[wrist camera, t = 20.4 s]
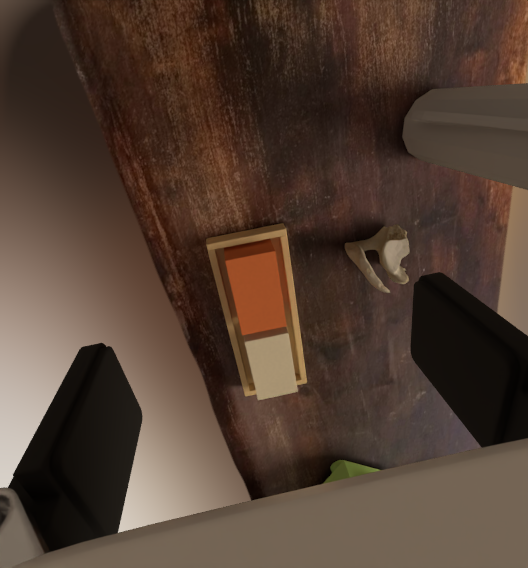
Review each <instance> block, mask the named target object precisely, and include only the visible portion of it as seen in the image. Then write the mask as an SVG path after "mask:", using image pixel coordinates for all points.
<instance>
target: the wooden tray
mask: <svg viewBox="0 0 528 568" xmlns="http://www.w3.org/2000/svg"><path fill="white" fill-rule="evenodd" d="M265 239H270V240H271V242H272V244H273V247H274V249H275V252H276V258H277V265H278V272H279V278H280V285H281V291H282V298H283V305H284V311H285V318H286V324H287V326H286V327H287V330H288V333H289V339H290V346H291V352H292V358H293V365H294V371H295V378H296V384H297V385H300V384H304V383H307V379H306V371H305V364H304V356H303V349H302V342H301V334H300V327H299V320H298V312H297V305H296V297H295V290H294V283H293V275H292V268H291V261H290V253H289V246H288V238H287V231H286V228H285V226H284V224H283V223H281V224H276V225H271V226H266V227H261V228H256V229H251V230H246V231H241V232H236V233H231V234H226V235H221V236H216V237H211V238H207V239H206V246H207V250H208V254H209V258H210V262H211V266H212V270H213V274H214V277H215V281H216V285H217V289H218V293H219V297H220V301H221V305H222V309H223V312H224V316H225V320H226V324H227V328H228V332H229V336H230V340H231V343H232V347H233V351H234V355H235V359H236V363H237V367H238V371H239V374H240V378H241V382H242V386H243V390H244V394H245V396H249V395H254V394H256V390H255V385H254V381H253V377H252V373H251V368H250V364H249V360H248V356H247V351H246V347H245V343H244V336H243V335H242V333H241V329H240V324H239V320H238V316H237V311H236V307H235V303H234V298H233V294H232V290H231V285H230V281H229V277H228V272H227V268H226V264H225V256H224V248H225V247H230V246H235V245H240V244H245V243H250V242H255V241H260V240H265Z"/></svg>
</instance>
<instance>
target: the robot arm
mask: <svg viewBox="0 0 528 568" xmlns="http://www.w3.org/2000/svg"><path fill="white" fill-rule="evenodd" d="M411 355H412V358H413V360H414V361H415V363H416V364H417V365H418V367H419V368H420V369H421V370H422V372H423V373H424V374H425V376H426V377H427V378H428V379H429V381H430V382H431V383H432V384H433V386H434V387H435V388H436V390H437V391H438V392H439V393H440V395H441V396H442V397H443V399H444V400H445V401H446V402H447V404H448V405H449V406H450V407H451V409H452V410H453V411H454V413H455V414H456V415H457V416H458V418H459V419H460V420H461V422H462V423H463V424H464V425H465V427H466V428H467V429H468V430H469V432H470V433H471V434H472V436H473V437H474V438H475V439H476V441H477V442H478V443H479V445H480V446H481V447H482V448H478V449H474V450H469V451H465V452H460V453H456V454H451V455H447V456H443V457H438V458H434V459H429V460H425V461H421V462H416V463H412V464H407V465H403V466H399V467H394V468H390V469H385V470H381V471H376V472H372V473H368V474H364V475H359V476H355V477H351V478H346V479H342V480H338V481H333V482H329V483H325V484H320V485H316V486H312V487H307V488H303V489H299V490H295V491H290V492H286V493H282V494H278V495H273V496H269V497H265V498H260V499H256V500H252V501H248V502H244V503H239V504H235V505H231V506H227V507H223V508H218V509H214V510H210V511H206V512H202V513H197V514H193V515H190V516H185V517H181V518H177V519H172V520H168V521H164V522H160V523H155V524H151V525H147V526H144V527H140V528H136V529H132V530H128V531H124V532H120V533H118V529H119V525H120V520H121V515H122V511H123V506H124V501H125V497H126V492H127V488H128V483H129V479H130V474H131V470H132V465H133V460H134V456H135V451H136V446H137V442H138V437H139V432H140V428H141V424H142V411H141V408H140V406H139V404H138V402H137V399H136V398H135V395H134V393H133V391H132V389H131V387H130V385H129V382H128V380H127V378H126V376H125V374H124V372H123V370H122V368H121V365H120V363H119V361H118V359H117V357H116V355H115V353H114V351H113V349H112V347H110V346H108V347H106V345H104V344H103V343H99V344H94V345H90V346H85V347H82V348H81V349H80V350H79V352H78V354H77V356H76V358H75V360H74V361H73V363H72V365H71V367H70V369H69V371H68V372H67V375H66V376H65V378H64V380H63V382H62V384H61V386H60V387H59V389H58V391H57V393H56V395H55V397H54V399H53V401H52V403H51V404H50V406H49V408H48V410H47V412H46V414H45V416H44V417H43V419H42V421H41V423H40V425H39V427H38V429H37V431H36V432H35V434H34V436H33V438H32V440H31V442H30V444H29V446H28V448H27V449H26V451H25V453H24V455H23V457H22V459H21V461H20V463H19V464H18V466H17V468H16V470H15V472H14V474H13V476H14V477H13V479H12V481H11V483H10V485H9V487H8V488H0V568H528V336H527V335H526V334H524V333H523V332H522V331H520V330H518V329H517V328H516V327H515V326H513V325H512V324H511V323H509V322H508V321H507V320H505V319H504V318H503V317H501V316H500V315H499V314H497V313H496V312H494V311H493V310H492V309H490V308H489V307H488V306H486V305H485V304H484V303H482V302H481V301H480V300H478V299H477V298H476V297H474V296H473V295H471V294H470V293H469V292H467V291H466V290H465V289H463V288H462V287H461V286H459V285H458V284H457V283H455V282H454V281H453V280H451V279H450V278H449V277H447V276H446V275H444V274H443V273H441V272H438V273H434V274H429V275H424V276H421V277H420V278H419V281H418V282H416V283H415V284H414V295H413V313H412V332H411Z"/></svg>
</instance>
